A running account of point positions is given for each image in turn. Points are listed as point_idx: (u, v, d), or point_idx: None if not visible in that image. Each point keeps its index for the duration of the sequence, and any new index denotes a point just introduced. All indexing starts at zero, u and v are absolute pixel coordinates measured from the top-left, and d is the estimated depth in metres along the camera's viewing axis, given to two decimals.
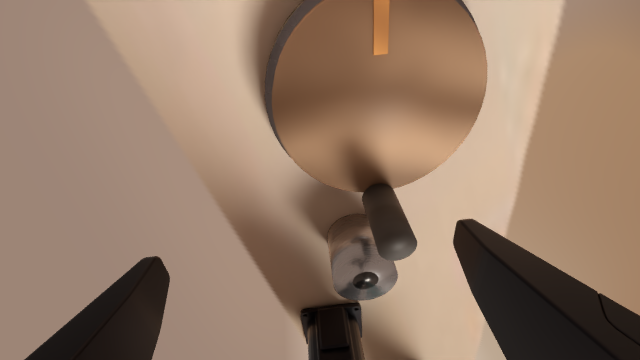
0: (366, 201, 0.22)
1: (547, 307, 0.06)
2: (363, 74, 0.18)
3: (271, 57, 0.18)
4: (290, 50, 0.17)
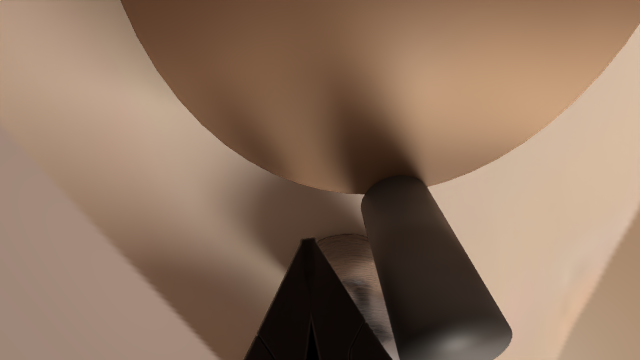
0: (369, 215, 0.10)
1: (313, 336, 0.06)
2: None
3: None
4: None
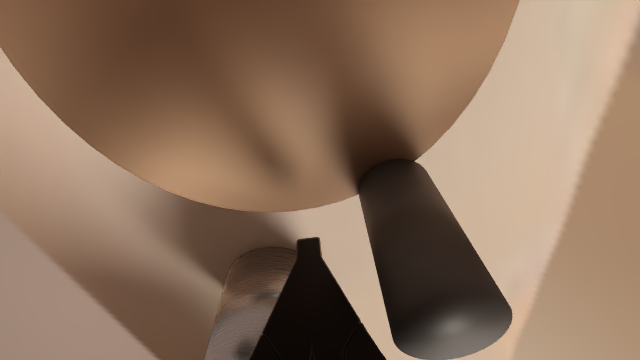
0: (363, 214, 0.10)
1: None
2: None
3: None
4: None
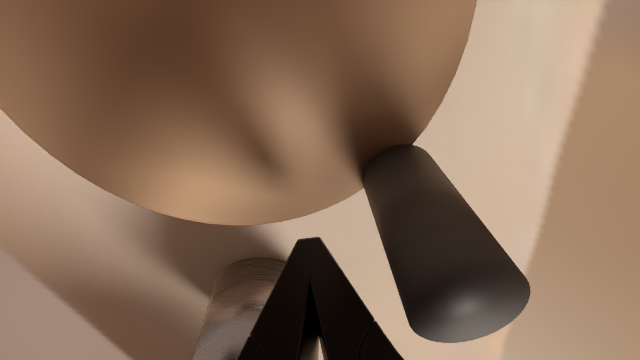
0: None
1: (322, 335, 0.06)
2: None
3: None
4: None
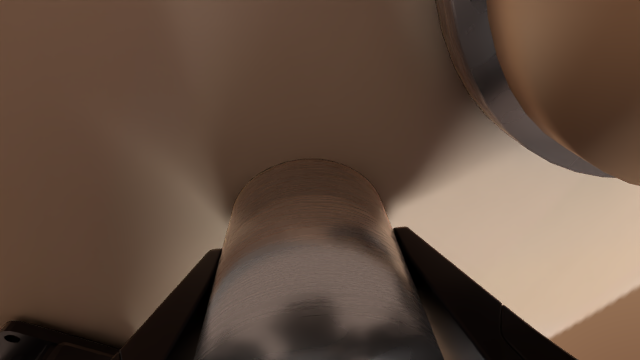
0: None
1: (451, 319, 0.06)
2: None
3: None
4: None
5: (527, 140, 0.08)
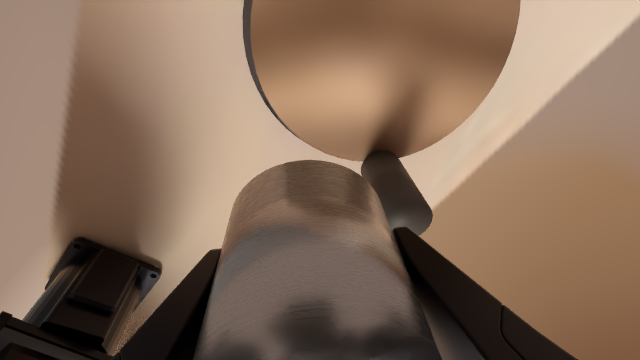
0: (366, 170, 0.18)
1: (451, 319, 0.06)
2: None
3: None
4: None
5: None
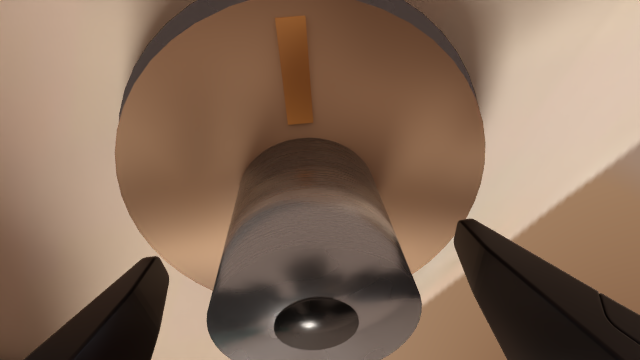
0: None
1: (548, 307, 0.06)
2: None
3: None
4: (134, 113, 0.09)
5: None
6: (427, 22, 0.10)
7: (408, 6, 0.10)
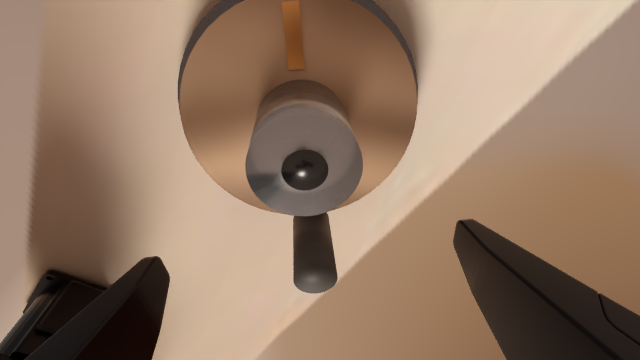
0: (294, 225, 0.20)
1: (547, 307, 0.06)
2: None
3: None
4: (195, 61, 0.15)
5: None
6: (375, 6, 0.16)
7: None
